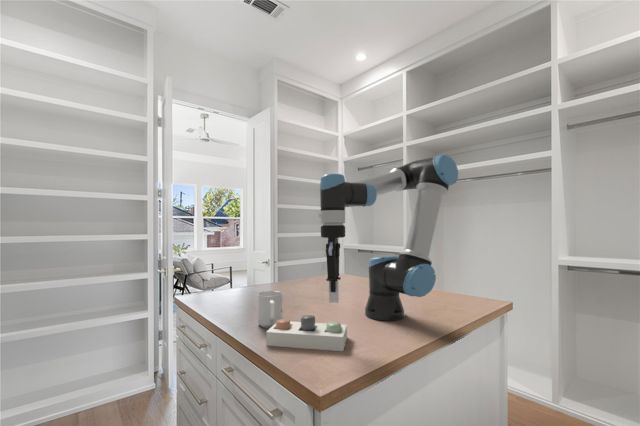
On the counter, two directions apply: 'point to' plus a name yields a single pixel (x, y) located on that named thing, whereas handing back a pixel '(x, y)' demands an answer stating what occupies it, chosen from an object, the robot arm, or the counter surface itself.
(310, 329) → the button charcoal
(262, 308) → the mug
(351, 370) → the counter surface
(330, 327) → the button sage
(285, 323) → the button terracotta
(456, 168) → the robot arm
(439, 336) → the counter surface
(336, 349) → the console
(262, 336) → the counter surface
